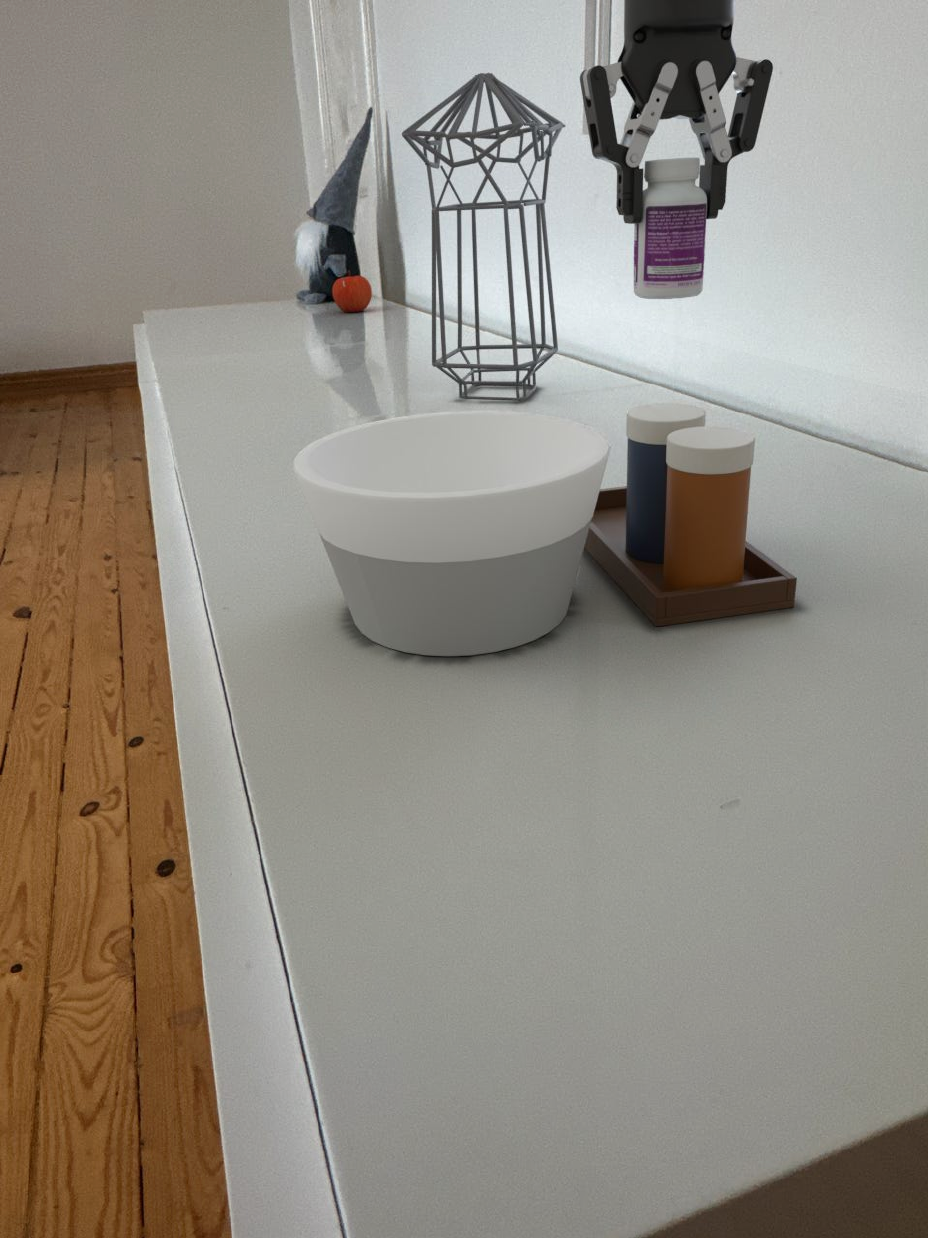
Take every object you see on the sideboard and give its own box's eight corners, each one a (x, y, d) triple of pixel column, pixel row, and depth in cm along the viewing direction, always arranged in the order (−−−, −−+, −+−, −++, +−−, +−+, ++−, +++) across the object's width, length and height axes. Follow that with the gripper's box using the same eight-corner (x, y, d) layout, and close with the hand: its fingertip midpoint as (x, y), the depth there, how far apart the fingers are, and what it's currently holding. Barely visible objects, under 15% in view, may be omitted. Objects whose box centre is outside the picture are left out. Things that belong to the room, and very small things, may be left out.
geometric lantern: (542, 410, 111) (534, 61, 96) (415, 407, 116) (389, 75, 101) (572, 381, 124) (570, 71, 110) (457, 380, 129) (440, 82, 114)
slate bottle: (680, 533, 72) (686, 399, 68) (710, 558, 67) (718, 416, 63) (613, 542, 71) (615, 407, 67) (639, 568, 66) (643, 424, 62)
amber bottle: (721, 568, 66) (731, 422, 61) (757, 597, 61) (770, 442, 57) (649, 577, 65) (653, 430, 60) (680, 608, 60) (687, 452, 56)
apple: (363, 314, 192) (359, 271, 189) (327, 314, 195) (322, 272, 192) (380, 308, 199) (376, 267, 196) (345, 308, 202) (341, 268, 198)
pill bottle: (717, 294, 74) (725, 155, 70) (667, 302, 72) (672, 158, 68) (667, 289, 78) (672, 158, 74) (618, 296, 76) (620, 161, 72)
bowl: (661, 642, 57) (668, 466, 53) (341, 704, 53) (318, 517, 48) (545, 538, 74) (542, 398, 69) (295, 578, 69) (274, 430, 65)
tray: (664, 504, 79) (664, 481, 79) (794, 607, 61) (797, 577, 60) (556, 517, 78) (556, 494, 77) (656, 627, 59) (657, 597, 58)
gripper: (596, -59, 61) (594, 229, 68) (806, -63, 63) (783, 216, 71) (563, -36, 68) (564, 224, 75) (754, -40, 70) (737, 213, 77)
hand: (670, 219), depth 73 cm, fingers closed on pill bottle, 5 cm apart
